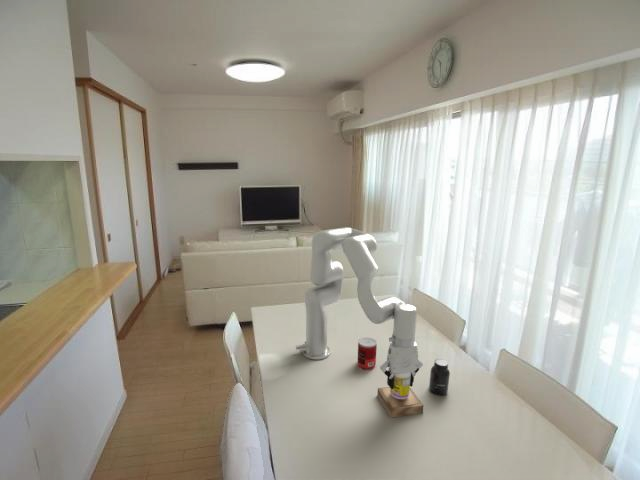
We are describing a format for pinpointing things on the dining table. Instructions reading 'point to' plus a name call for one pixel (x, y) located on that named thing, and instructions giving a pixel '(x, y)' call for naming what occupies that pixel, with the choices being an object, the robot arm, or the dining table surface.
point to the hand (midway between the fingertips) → (400, 385)
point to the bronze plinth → (399, 403)
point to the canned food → (367, 353)
